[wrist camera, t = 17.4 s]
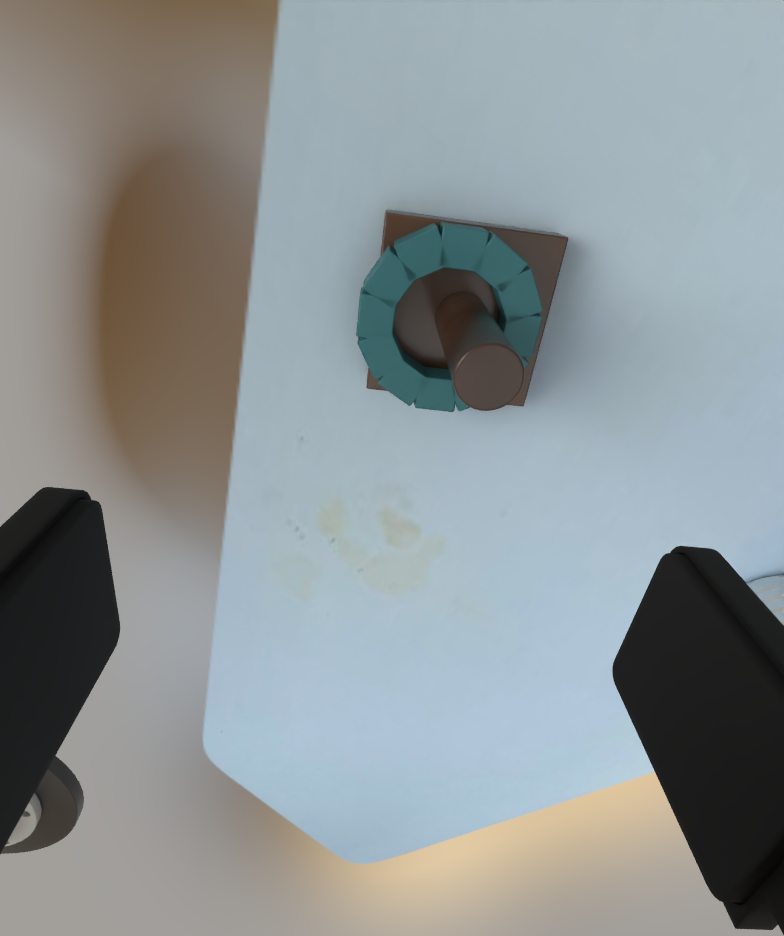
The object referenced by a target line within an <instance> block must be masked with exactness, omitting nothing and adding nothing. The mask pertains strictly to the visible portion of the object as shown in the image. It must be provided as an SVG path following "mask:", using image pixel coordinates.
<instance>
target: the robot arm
mask: <svg viewBox="0 0 784 936" xmlns="http://www.w3.org/2000/svg"><path fill="white" fill-rule="evenodd" d="M119 633H120V621H119V615H118V608H117V602H116V596H115V590H114V584H113V577H112V570H111V564H110V558H109V551H108V545H107V539H106V532H105V526H104V520H103V513H102V508H101V505H100V503H99V502H97V501H93V500H91V498H90V496H89V494H88V493H87V492H85V491H84V490H73V489H64V488H53V487H45V488H42V489H41V490H39V491H38V492H37V493H36V494H35V495H34V496H33V497H32V498H31V499H30V500H28V502H26V503H25V504H24V505H23V506H22V507H21V508H20V509H19V510H18V511H17V512H16V513H15V514H14V515H13V516H11V517H10V519H8V520H7V521H6V522H5V523H4V524H3V525H2V526H1V527H0V854H1V852H2V850H3V848H4V847H5V846H10V845H13V844H16V843H18V842H20V841H23V840H24V839H26V838H27V837H28V836H30V835H31V833H32V832H33V831H34V830H35V828H36V826H37V824H38V822H39V820H40V818H41V813H42V808H41V804H40V801H39V799H38V797H37V795H36V794H35V791H36V789H37V787H38V786H39V784H40V782H41V780H42V778H43V777H44V775H45V773H46V771H47V769H48V768H49V766H50V764H51V762H52V760H53V759H54V757H55V755H56V753H57V751H58V749H59V747H60V746H61V744H62V742H63V741H64V739H65V737H66V735H67V733H68V732H69V730H70V728H71V726H72V724H73V722H74V721H75V719H76V717H77V715H78V714H79V712H80V710H81V708H82V706H83V705H84V703H85V701H86V699H87V697H88V696H89V694H90V692H91V690H92V688H93V687H94V685H95V683H96V681H97V680H98V678H99V676H100V674H101V672H102V671H103V669H104V667H105V665H106V663H107V662H108V660H109V658H110V656H111V654H112V653H113V651H114V649H115V647H116V645H117V642H118V638H119ZM613 679H614V682H615V685H616V687H617V690H618V692H619V694H620V696H621V698H622V701H623V703H624V705H625V707H626V709H627V711H628V714H629V716H630V718H631V720H632V722H633V725H634V727H635V729H636V731H637V733H638V735H639V738H640V740H641V742H642V744H643V746H644V749H645V751H646V753H647V755H648V757H649V760H650V762H651V764H652V766H653V768H654V770H655V773H656V775H657V777H658V779H659V781H660V784H661V786H662V788H663V790H664V792H665V794H666V796H667V799H668V801H669V803H670V805H671V808H672V810H673V812H674V814H675V816H676V818H677V821H678V823H679V825H680V827H681V829H682V832H683V834H684V836H685V838H686V840H687V842H688V845H689V847H690V849H691V851H692V853H693V856H694V857H695V860H696V862H697V864H698V867H699V869H700V871H701V873H702V875H703V877H704V880H705V882H706V884H707V886H708V887H709V889H710V891H711V893H712V894H713V895H714V896H715V897H716V898H717V899H718V900H719V901H722V902H723V903H724V905H725V907H726V910H727V912H728V914H729V916H730V918H731V920H732V922H733V925H734V927H735V928H737V929H762V930H773V929H774V928H775V927H776V926H777V925H779V927H780V929H781V930H782V932H783V934H784V625H783V624H782V623H781V622H780V621H779V620H778V618H777V617H776V616H775V615H774V614H773V613H772V612H771V611H770V609H769V608H768V607H767V606H766V605H765V604H764V603H763V602H762V600H761V599H760V598H759V597H758V596H757V595H756V594H755V593H754V591H753V590H752V589H751V588H750V587H749V586H748V585H747V584H746V582H745V581H744V580H743V579H742V578H741V577H740V576H739V575H738V573H737V572H736V571H735V570H734V569H733V568H732V567H731V566H730V564H729V563H728V562H727V561H726V560H725V559H724V558H723V557H722V555H721V554H720V553H718V552H717V551H716V550H713V549H708V548H698V547H687V546H678V547H676V548H674V549H673V550H672V551H671V553H668V554H665V555H664V556H663V557H662V558H661V560H660V562H659V564H658V566H657V568H656V570H655V573H654V575H653V577H652V579H651V581H650V584H649V586H648V588H647V590H646V592H645V595H644V597H643V599H642V601H641V603H640V606H639V608H638V610H637V612H636V614H635V616H634V619H633V621H632V623H631V625H630V627H629V630H628V632H627V634H626V636H625V638H624V641H623V643H622V645H621V647H620V649H619V652H618V654H617V656H616V658H615V660H614V663H613Z"/></svg>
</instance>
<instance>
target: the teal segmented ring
mask: <svg viewBox="0 0 784 936" xmlns="http://www.w3.org/2000/svg"><path fill="white" fill-rule="evenodd" d="M394 248H395V249H394ZM394 248H392V247H391V246H388V247H387V248H386V250H385V251H384V253H383V254H382V256H381V257H380V258H379V260H378V261H377V263H376V264H375V266H374V267H373V268H372V270H371V271H370V273H369V274H368V275H367V277H366V278H365V280H364V285H363V287H362V288H361V293H360V301H359V312H358V323H357V333H356V335H357V337H358V345H359V347H360V350H361V352H362V354H363V356H364V358H365V360H366V363H367V365H368V367H369V369H370V371H371V373H372V376H373V378H374V379H377V378H378V384H379V385H381V386H382V387H383V388H385V389H386V390H388V391H389V392H390V393H392V394H393V395H395V396H396V397H398V398H399V399H400V400H402V401H403V402H405V403H406V404H407V405H409V406H410V405H411V404H412V403H413V402H414V404H415V407H416V408H422V409H431V410H440V411H448V412H453V411H454V408H455V403H456V406H457V408H458V410H459V411H462V410H464V409H467V408H470V407H469V406H467V405H466V404H465V403H463V402H462V401H461V400H460V398H459V397H458V396H457V394H456V392H455V389H454V386H453V382H452V379H451V375H450V372H449V369H441V368H433V367H425V366H423V365H422V364H420V363H419V362H418V361H416V360H415V359H414V358H412V357H411V356H410V355H408V354H407V353H406V352H404V351H403V349H402V347H401V344H400V342H399V340H398V337H397V335H396V333H395V330H394V321H395V313H396V306H397V304H398V302H399V301H400V300H401V298H402V297H403V296H404V294H405V293H406V292H407V290H408V289H409V288H410V286H411V285H412V284H413V282H414V281H415V280H417V279H419V278H422V277H424V276H426V275H428V274H431V273H433V272H435V271H438V270H440V269H442V268H450V269H458V270H466V271H473V272H475V273H476V274H478V275H479V276H480V277H481V278H482V279H484V280H485V281H486V282H487V283H488V284H489V285H491V286H492V288H493V291H494V294H495V298H496V301H497V304H498V307H499V310H500V312H499V317H498V321H497V324H498V325H499V327H500V328H501V330H502V331H503V333H504V334H505V336H506V337H507V339H508V340H509V342H510V343H511V345H512V346H513V348H514V349H515V351H516V352H517V354H518V355H519V357H520V358H521V360H522V363H523V366H524V369H525V368H526V367H527V365H528V364H529V362H528V360H527V359H526V358H525V357H527V358H532V356H533V353H534V349H535V345H536V341H537V338H538V334H539V330H540V326H541V322H542V316H541V315H540V314H539V312H542V311H543V308H542V304H541V301H540V297H539V294H538V290H537V287H536V283H535V279H534V276H533V272H532V269H530V268H529V267H528V266H527V264H528V263H527V262H526V261H525V260H524V259H523V258H522V257H520V256H519V255H518V254H517V253H516V252H515V251H514V250H512V249H511V248H510V247H509V246H508V245H507V244H506V243H505V242H503V241H502V240H501V239H500V238H499V237H498V236H497V235H495V234H494V233H492V232H491V231H487V230H485V229H484V228H482V227H476V226H469V225H462V224H454V223H447V222H440V225H439V229H438V227H437V226H436V224H435V223H432V224H430V225H428V226H425V227H423V228H421V229H419V230H417V231H414V232H412V233H410V234H408V235H406V236H403V237H401V238H399V239H397V240H395V241H394Z"/></svg>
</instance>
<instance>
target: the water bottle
mask: <svg viewBox="0 0 784 936" xmlns="http://www.w3.org/2000/svg"><path fill="white" fill-rule="evenodd" d="M747 585H748V586H749V587H750V588H751V589H752V590H753V591H754V593H755V594H756V595H757V596H758V597H759V598H760V599H761V600H762V602H763V603H764V604H765V605H766V606H767V607H768V608H769V609H770V611H771V612H772V613H773V614H774V615H775V616H776V617H777V618H778V620H779V621H780V622H781V623H782V624H783V625H784V575H777V576H768V577H764V578H760V579H757V580H754V581H751V582H749V583H747Z"/></svg>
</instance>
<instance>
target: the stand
mask: <svg viewBox="0 0 784 936" xmlns="http://www.w3.org/2000/svg"><path fill="white" fill-rule="evenodd" d="M440 222H447V223H454V224H462V225H469V226H476V227H482V228H484V229H485V230H487V231H491V232H492V233H494V234H495V235H497V236H498V237H499V238H500V239H501V240H502V241H503V242H505V243H506V244H507V245H508V246H509V247H510V248H511V249H512V250H514V251H515V252H516V253H517V254H518V255H519V256H520V257H522V258H523V259H524V260H525V261H526V262H527V263H528V264H527V266H528V267H529V268H530V269H532V272H533V276H534V279H535V283H536V287H537V290H538V294H539V297H540V301H541V304H542V308H543V311H542V312H539V314H540V315H541V316H542V322H541V326H540V330H539V334H538V338H537V341H536V345H535V349H534V353H533V356H532V358H527V357H525V358H526V359H527V360H528V362H529V364H528V365H527V367H526V368H525V369H524V366H523V363H522V360H521V358H520V357H519V355H518V354H517V352H516V351H515V349H514V348H513V346H512V345H511V343H510V342H509V340H508V339H507V337H506V336H505V334H504V333H503V331H502V330H501V328H500V327H499V325H498V324H497V321H498V317H499V312H500V310H499V307H498V304H497V301H496V298H495V294H494V291H493V288H492V286H491V285H489V284H488V283H487V282H486V281H485V280H484V279H482V278H481V277H480V276H479V275H478V274H476V273H475V272H473V271H466V270H458V269H450V268H442V269H440V270H438V271H435V272H433V273H431V274H428V275H426V276H424V277H422V278H419V279H417V280H415V281H414V282H413V284H412V285H411V286H410V288H409V289H408V290H407V292H406V293H405V294H404V296H403V297H402V298H401V300H400V301H399V302H398V304H397V306H396V313H395V321H394V330H395V333H396V335H397V337H398V340H399V342H400V344H401V347H402V349H403V351H404V352H406V353H407V354H408V355H410V356H411V357H412V358H414V359H415V360H416V361H418V362H419V363H420V364H422V365H423V366H425V367H433V368H441V369H449V372H450V375H451V379H452V382H453V386H454V389H455V392H456V394H457V396H458V397H459V398H460V400H461V401H462V402H463V403H465V404H466V405H467V406H469V407H471V408H474V409H477V410H485V411H487V410H495V409H498V408H501V407H503V406H505V405H514V406H524V403H525V400H526V396H527V392H528V388H529V385H530V381H531V377H532V373H533V370H534V366H535V362H536V358H537V354H538V351H539V347H540V343H541V339H542V336H543V332H544V328H545V324H546V321H547V317H548V313H549V309H550V306H551V302H552V298H553V294H554V290H555V287H556V283H557V279H558V275H559V272H560V268H561V264H562V260H563V257H564V253H565V249H566V245H567V241H568V237H566V236H563V235H561V234H559V233H552V232H545V231H537V230H530V229H523V228H516V227H508V226H501V225H494V224H487V223H480V222H472V221H465V220H458V219H451V218H443V217H436V216H429V215H422V214H415V213H407V212H400V211H393V210H386V212H385V221H384V230H383V239H382V248H381V256H382V254H383V253H384V251H385V250H386V248H387V247H388V246H391V247H392V248H394V241H395V240H397V239H399V238H401V237H403V236H406V235H408V234H410V233H412V232H414V231H417V230H419V229H421V228H423V227H425V226H428V225H430V224H432V223H435V224H436V226H437V227H438V229H439V225H440ZM394 249H395V248H394ZM367 388H368V389H376V390H385V391H388V390H386V389H385V388H383V387H382V386H381V385H379V384H378V378H377V379H374V378H373V376H372V373H371V371H370V369H369V368H368V377H367Z"/></svg>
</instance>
